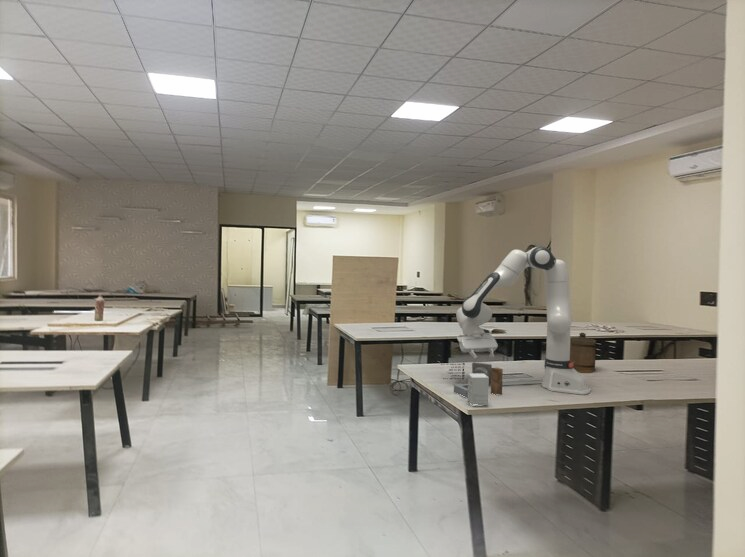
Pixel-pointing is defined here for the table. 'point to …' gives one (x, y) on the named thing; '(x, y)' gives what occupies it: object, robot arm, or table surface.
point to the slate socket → (461, 389)
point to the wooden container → (583, 353)
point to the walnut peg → (496, 380)
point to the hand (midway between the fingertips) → (484, 357)
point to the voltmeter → (475, 370)
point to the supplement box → (478, 388)
